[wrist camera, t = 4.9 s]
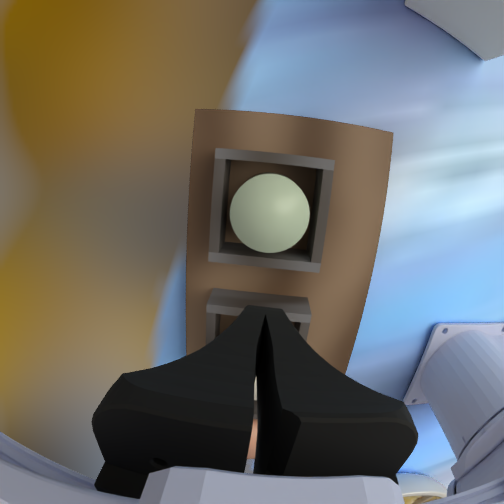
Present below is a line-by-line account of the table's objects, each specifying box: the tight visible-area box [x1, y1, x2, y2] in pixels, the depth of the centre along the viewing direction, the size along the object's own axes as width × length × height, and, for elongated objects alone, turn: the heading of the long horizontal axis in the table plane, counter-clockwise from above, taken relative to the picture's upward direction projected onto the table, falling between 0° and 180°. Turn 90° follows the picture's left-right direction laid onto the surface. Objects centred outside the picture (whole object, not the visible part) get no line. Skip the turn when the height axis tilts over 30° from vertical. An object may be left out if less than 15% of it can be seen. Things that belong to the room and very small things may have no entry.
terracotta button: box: [247, 419, 258, 459], centre depth 20 cm, size 4×4×2 cm
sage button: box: [230, 172, 310, 253], centre depth 15 cm, size 4×4×2 cm
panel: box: [186, 109, 393, 459], centre depth 19 cm, size 11×26×3 cm, turn 175°
